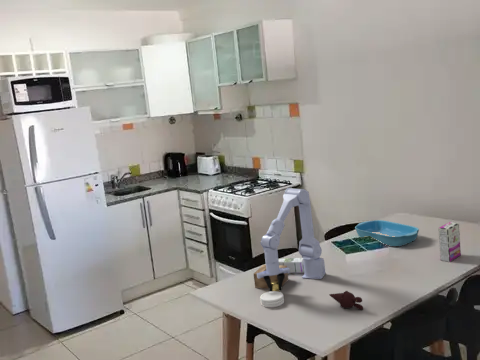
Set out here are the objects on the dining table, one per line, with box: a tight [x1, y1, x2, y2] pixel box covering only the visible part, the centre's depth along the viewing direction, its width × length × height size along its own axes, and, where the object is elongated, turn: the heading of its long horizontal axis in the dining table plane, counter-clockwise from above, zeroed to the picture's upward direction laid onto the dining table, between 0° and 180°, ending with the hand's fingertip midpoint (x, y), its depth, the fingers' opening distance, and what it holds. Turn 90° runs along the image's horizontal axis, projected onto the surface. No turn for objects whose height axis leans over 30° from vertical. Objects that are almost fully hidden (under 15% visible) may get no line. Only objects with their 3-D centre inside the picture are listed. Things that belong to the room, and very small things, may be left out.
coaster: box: [259, 291, 285, 308], centre depth 219 cm, size 10×10×4 cm
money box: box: [253, 264, 289, 290], centre depth 240 cm, size 12×12×7 cm
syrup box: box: [278, 257, 305, 274], centre depth 253 cm, size 6×6×14 cm
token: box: [271, 282, 281, 292], centre depth 228 cm, size 4×4×5 cm
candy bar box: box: [438, 221, 462, 263], centre depth 245 cm, size 11×5×16 cm, turn 131°
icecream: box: [329, 290, 364, 311], centre depth 206 cm, size 7×7×15 cm
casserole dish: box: [354, 219, 420, 247], centre depth 284 cm, size 37×22×7 cm, turn 34°
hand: (275, 290), depth 228 cm, fingers closed on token, 4 cm apart
